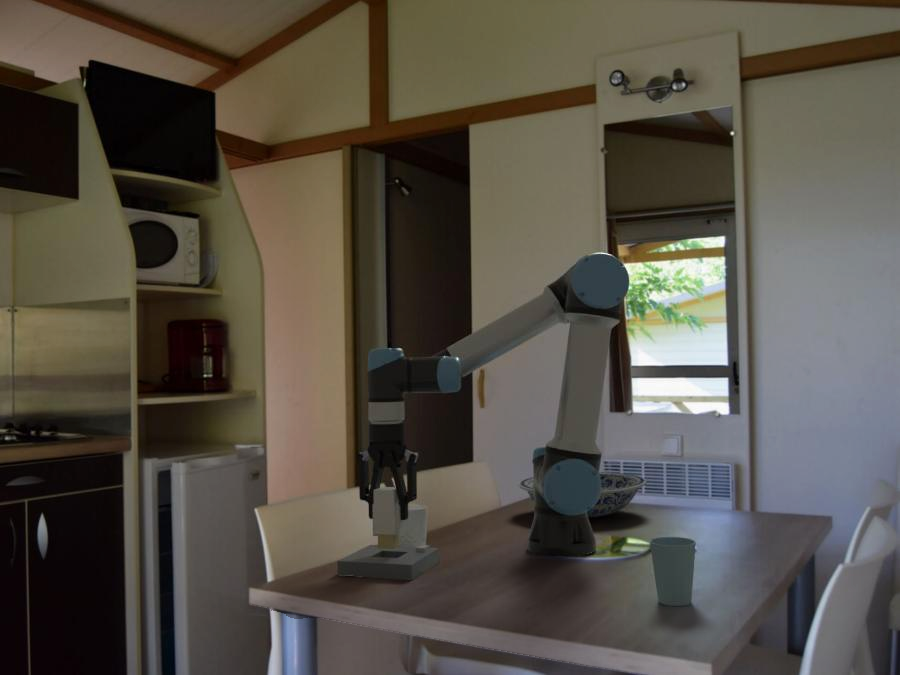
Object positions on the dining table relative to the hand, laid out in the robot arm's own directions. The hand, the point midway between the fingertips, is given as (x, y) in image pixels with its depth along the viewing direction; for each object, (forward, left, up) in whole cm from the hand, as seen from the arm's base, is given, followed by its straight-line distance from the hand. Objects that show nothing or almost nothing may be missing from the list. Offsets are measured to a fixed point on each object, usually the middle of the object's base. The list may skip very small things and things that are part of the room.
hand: (388, 535), depth 178 cm
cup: (-58, +12, -7) cm, 60 cm away
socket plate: (0, 0, -7) cm, 7 cm away
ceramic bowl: (-28, -69, -7) cm, 75 cm away
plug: (0, 0, -2) cm, 2 cm away
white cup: (+2, -17, -7) cm, 19 cm away
